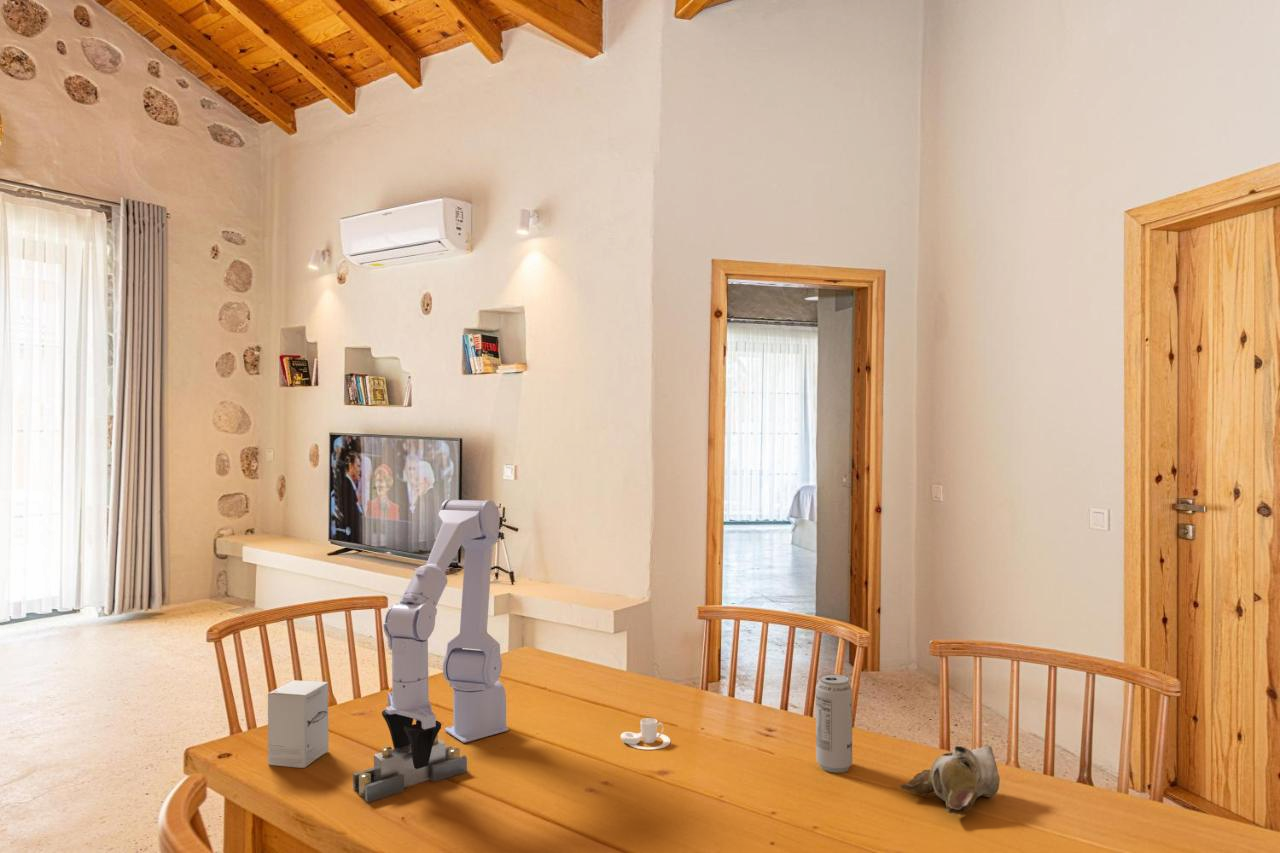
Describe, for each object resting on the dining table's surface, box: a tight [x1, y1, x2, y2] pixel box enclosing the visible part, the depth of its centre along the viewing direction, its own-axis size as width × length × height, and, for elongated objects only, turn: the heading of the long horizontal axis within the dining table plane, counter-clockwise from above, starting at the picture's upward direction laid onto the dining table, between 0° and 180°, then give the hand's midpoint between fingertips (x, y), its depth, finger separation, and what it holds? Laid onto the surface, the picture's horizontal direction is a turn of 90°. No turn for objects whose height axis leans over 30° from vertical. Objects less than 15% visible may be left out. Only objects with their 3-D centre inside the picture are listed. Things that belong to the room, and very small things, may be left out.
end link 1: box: [352, 767, 405, 804], centre depth 131 cm, size 6×6×3 cm
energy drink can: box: [815, 673, 853, 774], centre depth 139 cm, size 6×6×15 cm
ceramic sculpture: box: [900, 744, 1001, 815], centre depth 127 cm, size 11×9×15 cm
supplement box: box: [267, 679, 329, 769], centre depth 144 cm, size 7×7×13 cm
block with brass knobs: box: [373, 734, 446, 788], centre depth 135 cm, size 11×3×6 cm, turn 129°
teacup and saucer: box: [620, 717, 672, 751], centre depth 151 cm, size 9×8×4 cm
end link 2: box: [430, 745, 468, 783], centre depth 138 cm, size 6×6×3 cm
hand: (411, 759), depth 135 cm, fingers open, 7 cm apart
